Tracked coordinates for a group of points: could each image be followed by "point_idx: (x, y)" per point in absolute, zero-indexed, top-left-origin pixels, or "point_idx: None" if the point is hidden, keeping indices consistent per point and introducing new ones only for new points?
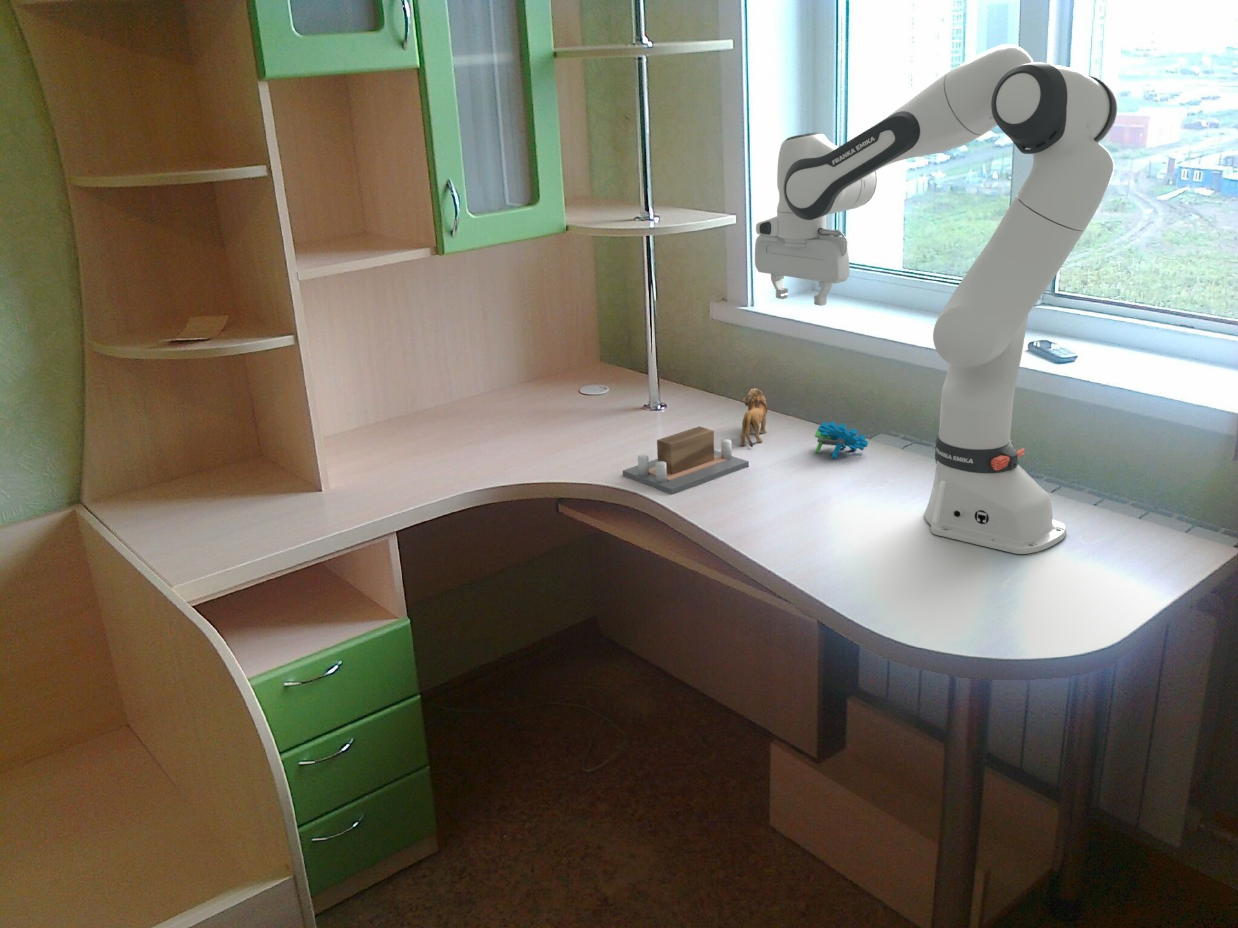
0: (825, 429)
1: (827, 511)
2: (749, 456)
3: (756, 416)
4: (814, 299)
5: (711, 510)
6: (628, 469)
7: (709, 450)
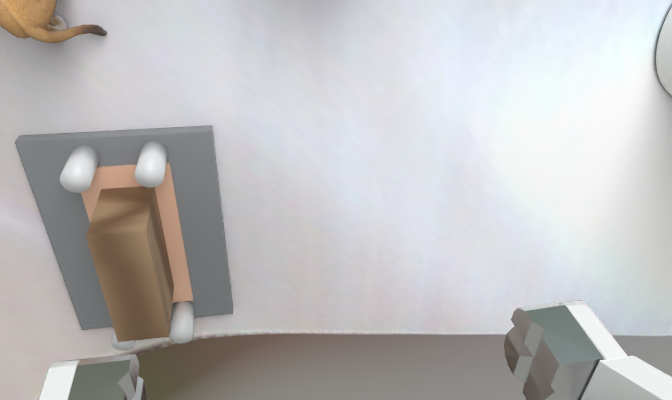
0: None
1: (494, 174)
2: (152, 76)
3: (40, 4)
4: (524, 389)
5: (336, 296)
6: (83, 321)
7: (153, 214)
